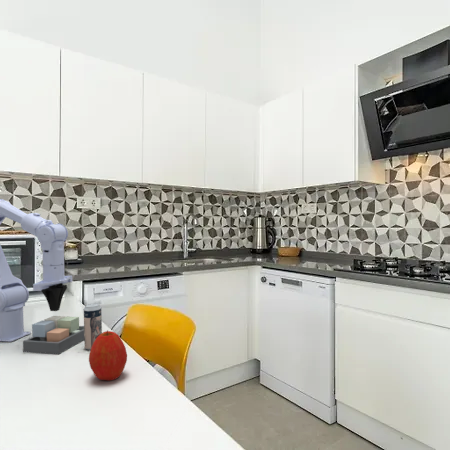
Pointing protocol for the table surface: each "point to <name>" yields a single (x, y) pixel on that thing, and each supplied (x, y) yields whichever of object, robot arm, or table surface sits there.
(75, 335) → the grey tray
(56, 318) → the off-white square block
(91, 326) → the beer can
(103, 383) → the table surface
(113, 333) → the apple
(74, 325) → the key sage
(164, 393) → the table surface
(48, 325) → the pale blue block
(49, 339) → the key terracotta
